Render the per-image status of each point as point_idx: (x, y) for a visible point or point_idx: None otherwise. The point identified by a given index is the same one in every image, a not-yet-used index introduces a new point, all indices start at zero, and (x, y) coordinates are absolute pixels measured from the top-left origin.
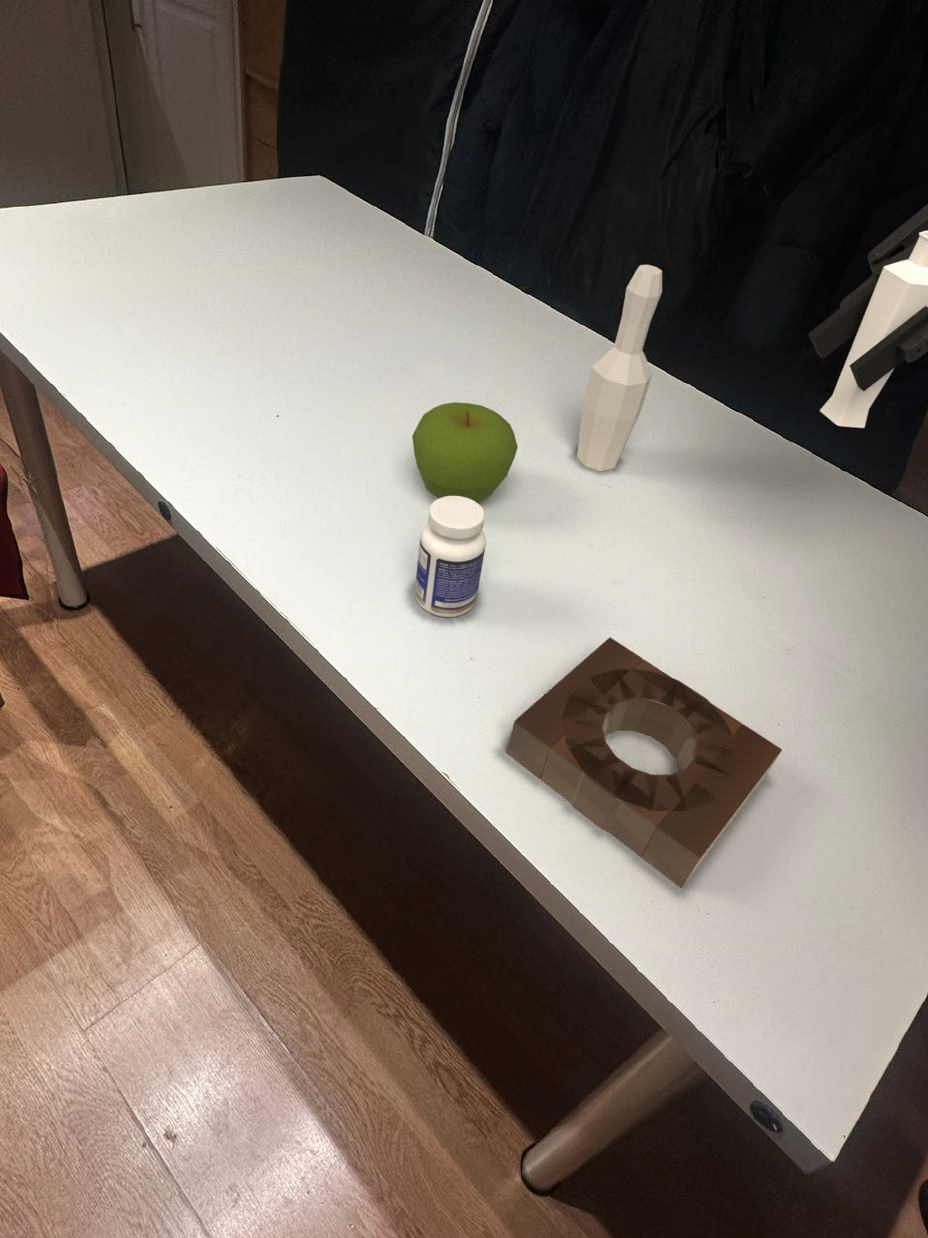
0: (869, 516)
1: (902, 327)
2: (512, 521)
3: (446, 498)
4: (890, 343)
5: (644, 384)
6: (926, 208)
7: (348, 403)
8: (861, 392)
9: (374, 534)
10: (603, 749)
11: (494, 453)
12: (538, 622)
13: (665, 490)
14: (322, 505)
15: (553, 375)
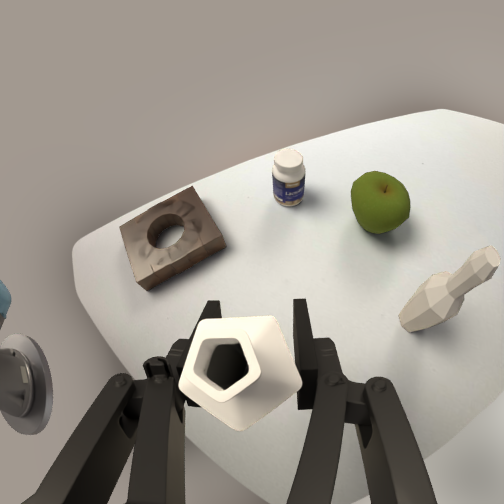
0: None
1: None
2: (348, 242)
3: (300, 156)
4: (195, 326)
5: (429, 307)
6: (421, 483)
7: (442, 192)
8: (241, 365)
9: (337, 178)
10: (167, 211)
11: (360, 200)
12: (264, 230)
13: (376, 356)
14: (358, 165)
15: (493, 317)
